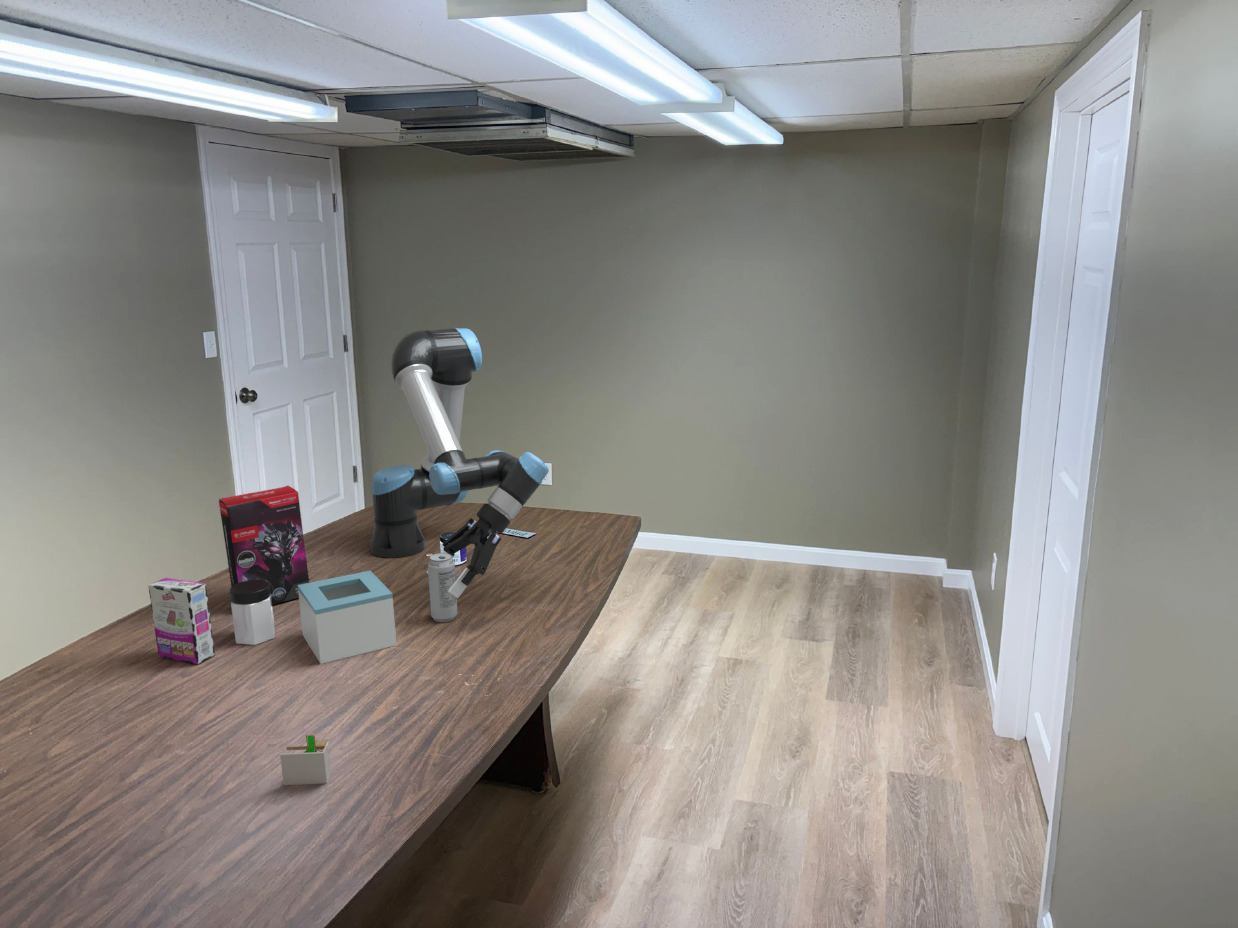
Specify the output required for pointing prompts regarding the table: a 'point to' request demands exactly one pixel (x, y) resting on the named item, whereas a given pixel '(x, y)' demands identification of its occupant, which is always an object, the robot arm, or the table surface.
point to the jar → (252, 612)
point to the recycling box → (347, 616)
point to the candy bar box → (182, 620)
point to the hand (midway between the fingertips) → (441, 585)
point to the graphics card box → (266, 540)
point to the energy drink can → (442, 587)
